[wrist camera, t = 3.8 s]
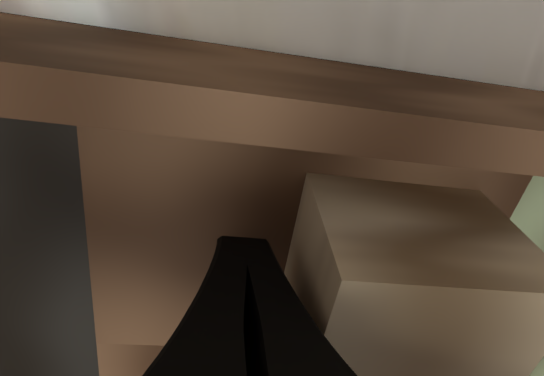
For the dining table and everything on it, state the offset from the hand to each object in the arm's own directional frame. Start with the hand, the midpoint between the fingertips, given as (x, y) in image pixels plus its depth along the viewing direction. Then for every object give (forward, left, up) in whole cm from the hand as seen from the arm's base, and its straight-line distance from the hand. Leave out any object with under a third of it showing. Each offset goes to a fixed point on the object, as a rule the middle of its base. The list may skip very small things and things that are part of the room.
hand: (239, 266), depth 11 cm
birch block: (-4, 0, -1) cm, 4 cm away
